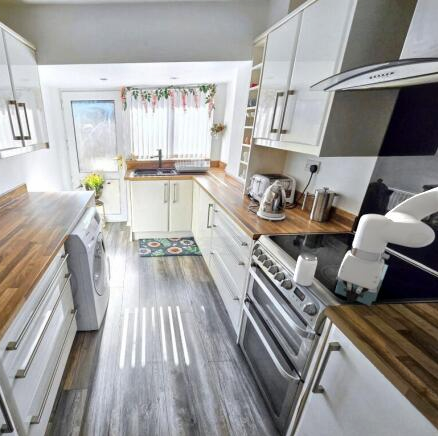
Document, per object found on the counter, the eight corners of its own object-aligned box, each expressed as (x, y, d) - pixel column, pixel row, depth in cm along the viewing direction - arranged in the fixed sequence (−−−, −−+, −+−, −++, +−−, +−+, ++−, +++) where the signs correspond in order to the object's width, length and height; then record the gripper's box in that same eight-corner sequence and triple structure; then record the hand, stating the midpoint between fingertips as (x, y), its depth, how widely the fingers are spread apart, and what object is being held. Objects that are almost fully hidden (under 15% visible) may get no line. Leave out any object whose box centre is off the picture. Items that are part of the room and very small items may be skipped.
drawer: (368, 312, 81) (375, 293, 78) (331, 297, 88) (337, 280, 85) (376, 290, 91) (382, 273, 88) (343, 278, 98) (348, 262, 95)
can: (295, 285, 97) (300, 259, 92) (292, 276, 102) (297, 251, 98) (313, 288, 95) (320, 262, 90) (309, 278, 100) (315, 253, 96)
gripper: (400, 257, 73) (381, 305, 79) (340, 241, 83) (327, 285, 90) (398, 266, 68) (378, 316, 75) (334, 249, 79) (321, 294, 85)
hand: (350, 299), depth 82 cm, fingers closed
